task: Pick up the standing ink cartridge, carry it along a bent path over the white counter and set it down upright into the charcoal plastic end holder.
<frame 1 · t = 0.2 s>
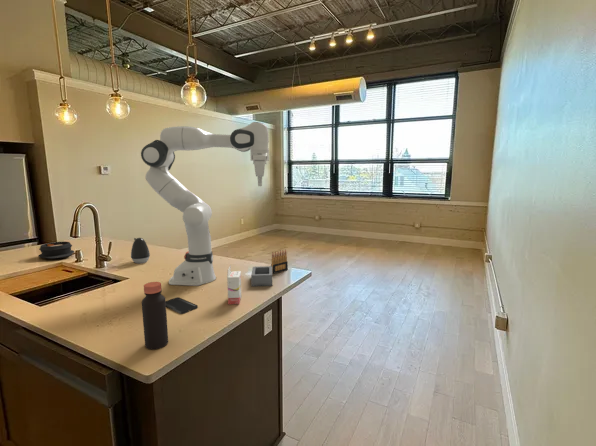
hand: (260, 185, 155), 47 cm above the counter, tool pointing down, fingers open, 8 cm apart
ammunition clip: (279, 272, 173), on the counter
end holder: (262, 281, 158), on the counter
phone: (179, 307, 129), on the counter
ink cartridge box: (235, 300, 134), on the counter
dark grey egg shape: (140, 262, 190), on the counter
bottle: (157, 344, 100), on the counter
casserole: (57, 256, 203), on the counter
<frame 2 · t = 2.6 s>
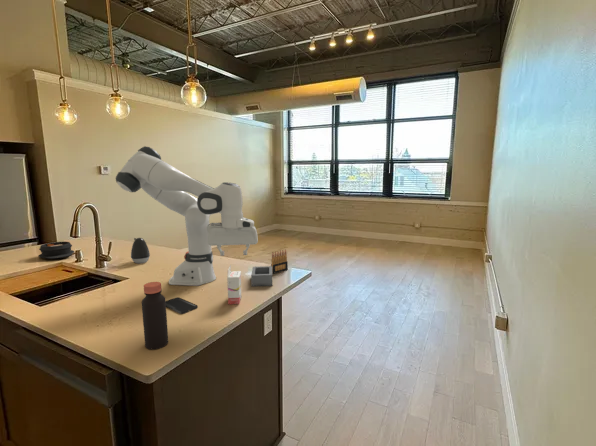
hand: (233, 255, 131), 20 cm above the counter, tool pointing down, fingers open, 8 cm apart
nothing on the counter moved.
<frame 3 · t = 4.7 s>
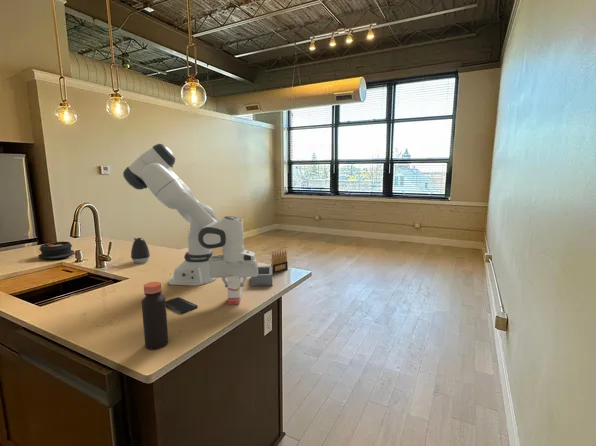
hand: (234, 286, 133), 6 cm above the counter, tool pointing down, fingers closed on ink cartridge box, 5 cm apart
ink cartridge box: (235, 300, 134), on the counter, touching gripper
everything else where it was.
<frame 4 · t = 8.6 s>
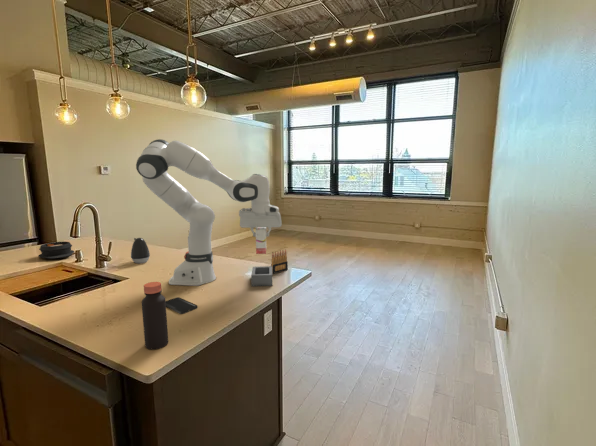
hand: (261, 236, 154), 23 cm above the counter, tool pointing down, fingers closed on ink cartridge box, 5 cm apart
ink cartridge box: (261, 252, 155), point 15 cm above the counter, touching gripper
everything else where it was.
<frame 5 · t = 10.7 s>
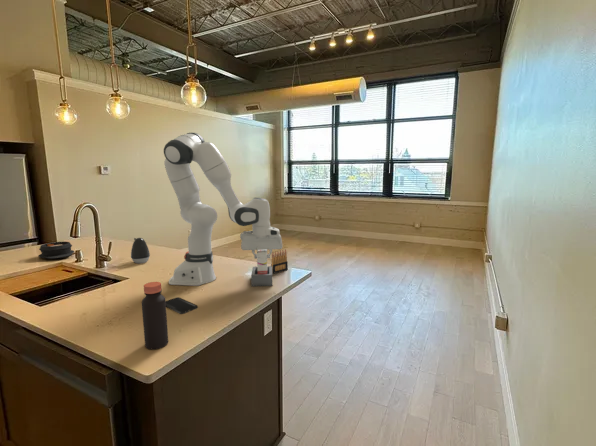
hand: (262, 258, 156), 12 cm above the counter, tool pointing down, fingers closed on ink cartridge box, 5 cm apart
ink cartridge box: (262, 273, 158), point 4 cm above the counter, touching gripper
everything else where it was.
when the fingers open (9 cm above the counter, at t = 12.3 s): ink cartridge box stays where it is, resting on end holder.
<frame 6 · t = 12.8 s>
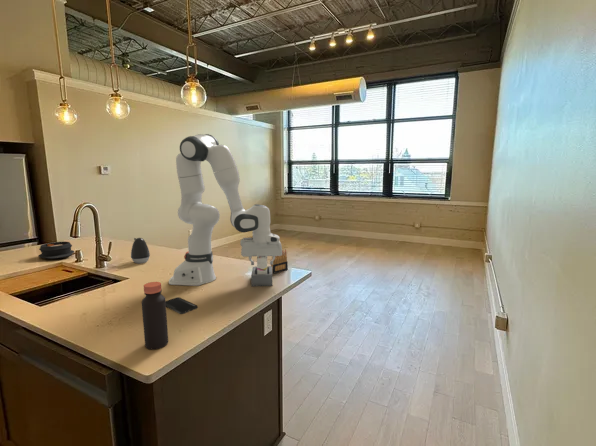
hand: (262, 264, 156), 9 cm above the counter, tool pointing down, fingers open, 8 cm apart
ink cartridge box: (262, 279, 158), point 1 cm above the counter, touching end holder
everything else where it was.
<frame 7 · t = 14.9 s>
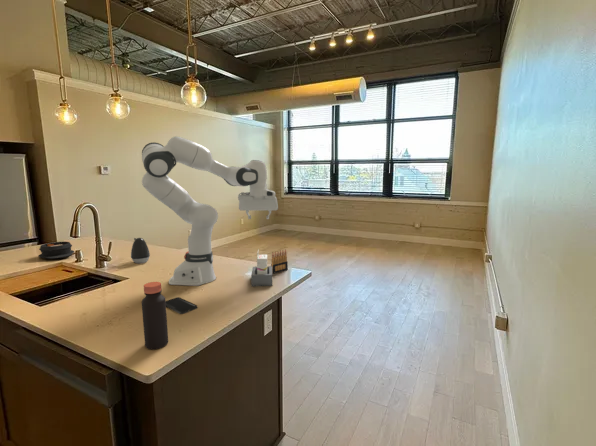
hand: (258, 218, 164), 30 cm above the counter, tool pointing down, fingers open, 8 cm apart
nothing on the counter moved.
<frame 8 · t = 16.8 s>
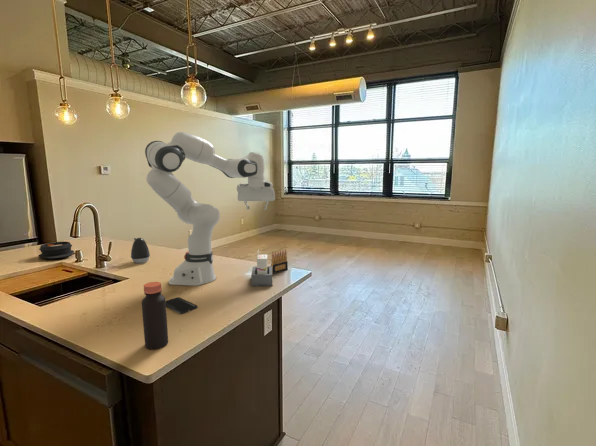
hand: (256, 209, 171), 34 cm above the counter, tool pointing down, fingers open, 8 cm apart
nothing on the counter moved.
at the end: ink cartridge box 0.1 cm off-centre on the end holder, point 0.8 cm above the end holder's base; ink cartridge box tilted 0°; the gripper is holding nothing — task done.
